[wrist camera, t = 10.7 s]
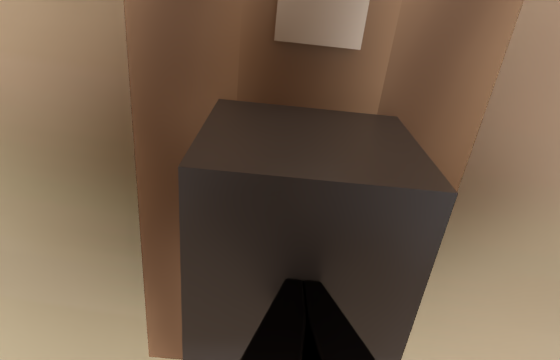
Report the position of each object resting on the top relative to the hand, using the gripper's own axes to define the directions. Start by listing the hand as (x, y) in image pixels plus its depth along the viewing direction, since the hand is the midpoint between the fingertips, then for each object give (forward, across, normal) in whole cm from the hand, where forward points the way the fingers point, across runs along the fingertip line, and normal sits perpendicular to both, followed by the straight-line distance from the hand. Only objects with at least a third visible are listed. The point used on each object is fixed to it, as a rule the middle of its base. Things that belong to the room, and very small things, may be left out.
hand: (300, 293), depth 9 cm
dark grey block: (+7, 0, 0) cm, 7 cm away
